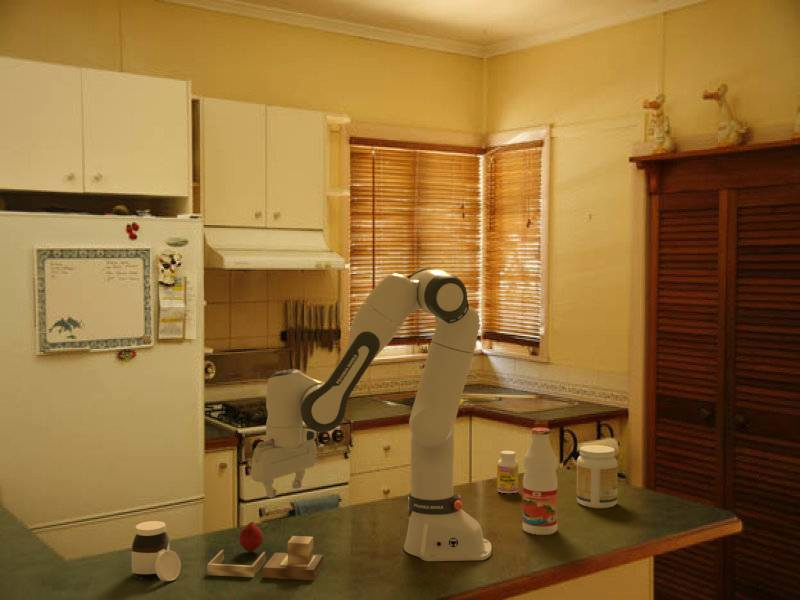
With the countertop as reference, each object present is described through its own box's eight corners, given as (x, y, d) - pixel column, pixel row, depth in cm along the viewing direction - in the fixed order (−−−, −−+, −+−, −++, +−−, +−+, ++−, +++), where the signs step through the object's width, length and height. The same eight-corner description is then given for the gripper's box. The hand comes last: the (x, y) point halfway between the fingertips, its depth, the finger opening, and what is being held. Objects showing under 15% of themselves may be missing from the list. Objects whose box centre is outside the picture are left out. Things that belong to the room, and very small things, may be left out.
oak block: (313, 557, 203) (313, 536, 203) (308, 564, 198) (308, 543, 198) (292, 556, 204) (292, 535, 204) (287, 563, 199) (287, 542, 199)
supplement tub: (616, 499, 262) (617, 445, 262) (617, 510, 250) (618, 454, 250) (576, 496, 265) (577, 443, 264) (575, 507, 253) (576, 452, 252)
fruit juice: (561, 527, 235) (562, 427, 233) (551, 537, 226) (552, 433, 225) (528, 522, 239) (529, 424, 237) (517, 532, 230) (518, 430, 229)
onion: (257, 557, 211) (257, 525, 211) (235, 555, 212) (235, 524, 212) (265, 549, 217) (265, 518, 216) (244, 547, 218) (244, 517, 217)
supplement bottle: (496, 494, 268) (496, 454, 267) (497, 488, 274) (497, 449, 273) (517, 495, 266) (518, 455, 266) (518, 489, 273) (518, 450, 272)
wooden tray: (323, 565, 206) (323, 554, 206) (313, 580, 196) (313, 569, 196) (221, 559, 209) (221, 549, 209) (207, 574, 199) (207, 563, 199)
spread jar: (142, 566, 205) (141, 518, 204) (188, 566, 205) (188, 519, 204) (124, 585, 193) (123, 534, 192) (173, 585, 193) (173, 535, 192)
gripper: (265, 445, 195) (264, 504, 196) (320, 430, 212) (320, 485, 213) (244, 442, 199) (244, 500, 199) (301, 427, 216) (301, 481, 217)
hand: (284, 492), depth 206 cm, fingers open, 8 cm apart
